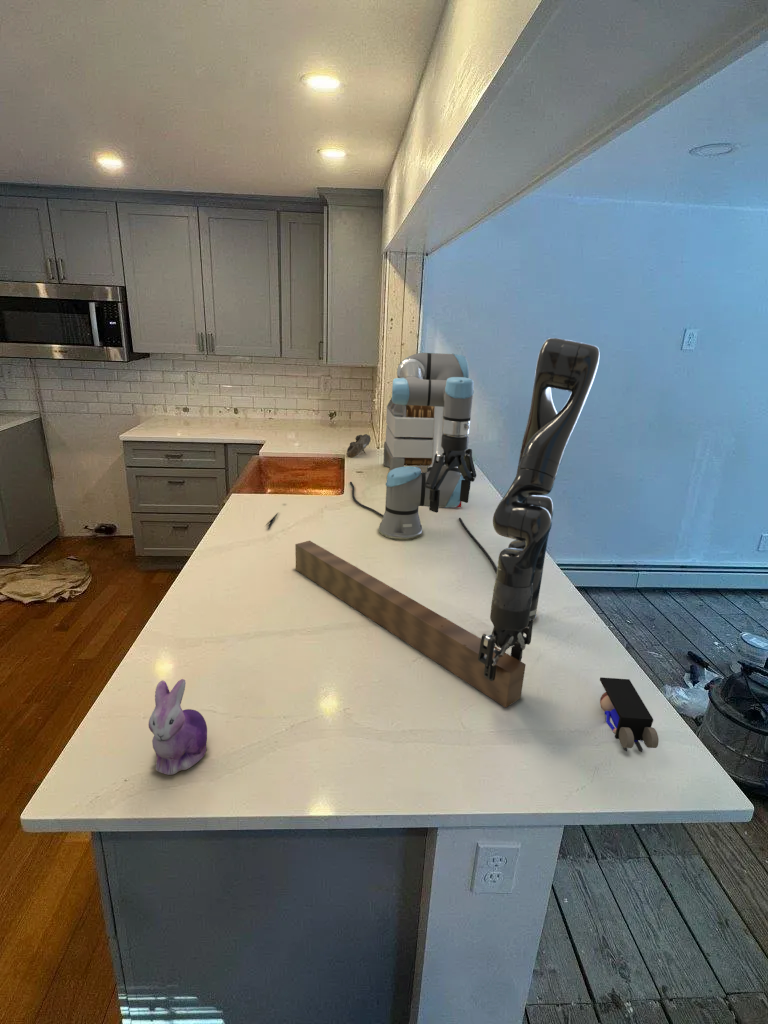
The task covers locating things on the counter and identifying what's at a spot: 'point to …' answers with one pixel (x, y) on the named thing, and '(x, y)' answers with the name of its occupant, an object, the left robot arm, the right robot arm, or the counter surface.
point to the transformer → (408, 435)
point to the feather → (271, 521)
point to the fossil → (358, 445)
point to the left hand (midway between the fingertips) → (449, 506)
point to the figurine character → (627, 714)
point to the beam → (412, 623)
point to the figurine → (176, 730)
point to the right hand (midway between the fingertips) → (502, 671)
